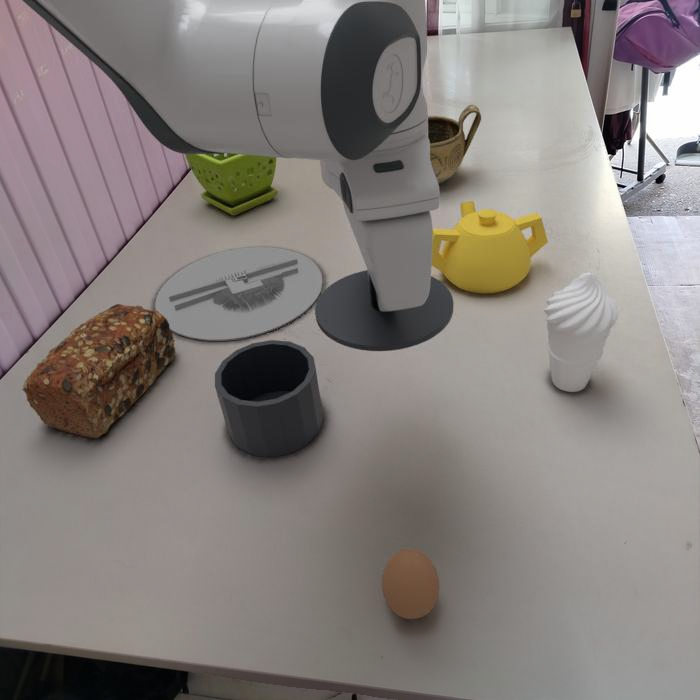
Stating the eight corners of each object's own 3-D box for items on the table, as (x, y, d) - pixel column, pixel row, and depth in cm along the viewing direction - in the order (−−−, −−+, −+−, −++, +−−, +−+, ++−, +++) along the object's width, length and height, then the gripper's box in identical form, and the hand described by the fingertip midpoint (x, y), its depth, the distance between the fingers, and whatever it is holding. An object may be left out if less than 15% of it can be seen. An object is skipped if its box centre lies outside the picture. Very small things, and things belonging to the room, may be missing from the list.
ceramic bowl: (371, 201, 129) (365, 127, 120) (373, 167, 142) (368, 99, 133) (482, 194, 127) (485, 118, 117) (473, 161, 140) (476, 91, 131)
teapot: (517, 233, 113) (521, 174, 107) (561, 286, 99) (570, 222, 92) (408, 251, 112) (406, 192, 105) (437, 308, 97) (436, 244, 91)
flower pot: (195, 204, 135) (180, 146, 127) (248, 182, 142) (237, 125, 134) (232, 223, 126) (218, 162, 118) (287, 199, 133) (277, 139, 125)
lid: (472, 342, 57) (473, 298, 54) (326, 368, 56) (320, 324, 53) (432, 269, 67) (431, 228, 64) (308, 289, 66) (302, 249, 63)
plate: (292, 234, 120) (291, 228, 120) (348, 307, 100) (347, 301, 99) (144, 274, 113) (142, 268, 113) (171, 362, 93) (169, 355, 92)
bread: (102, 445, 80) (74, 386, 74) (38, 427, 84) (6, 370, 78) (183, 355, 94) (165, 299, 87) (125, 344, 97) (104, 289, 91)
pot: (328, 447, 77) (320, 395, 71) (229, 465, 76) (214, 413, 71) (317, 383, 86) (309, 333, 81) (229, 398, 85) (215, 349, 80)
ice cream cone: (583, 413, 77) (604, 304, 67) (523, 385, 82) (534, 280, 72) (614, 376, 82) (638, 270, 72) (555, 353, 87) (569, 250, 77)
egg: (441, 584, 61) (441, 535, 56) (437, 636, 57) (437, 588, 52) (387, 578, 62) (383, 529, 57) (380, 629, 58) (375, 581, 53)
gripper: (318, 119, 59) (334, 249, 68) (357, 212, 43) (371, 367, 52) (384, 109, 60) (391, 240, 68) (447, 198, 44) (445, 354, 52)
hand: (383, 296), depth 60 cm, fingers closed on lid, 2 cm apart
